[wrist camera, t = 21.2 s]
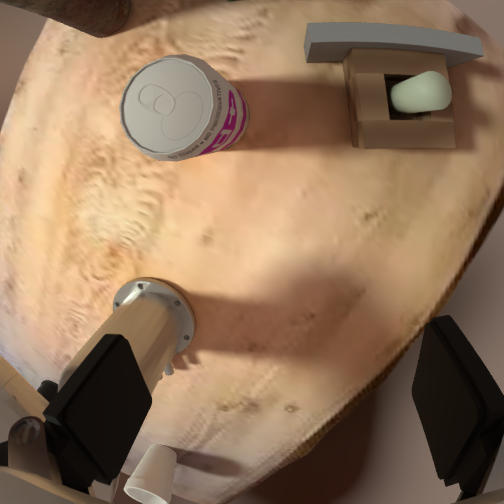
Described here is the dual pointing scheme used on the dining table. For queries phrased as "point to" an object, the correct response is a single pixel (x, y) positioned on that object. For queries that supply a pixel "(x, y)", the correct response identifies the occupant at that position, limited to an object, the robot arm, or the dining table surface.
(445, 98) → the dowel
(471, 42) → the wall
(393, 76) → the block
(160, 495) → the foam cup
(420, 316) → the dining table surface
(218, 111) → the supplement can
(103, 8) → the candle
